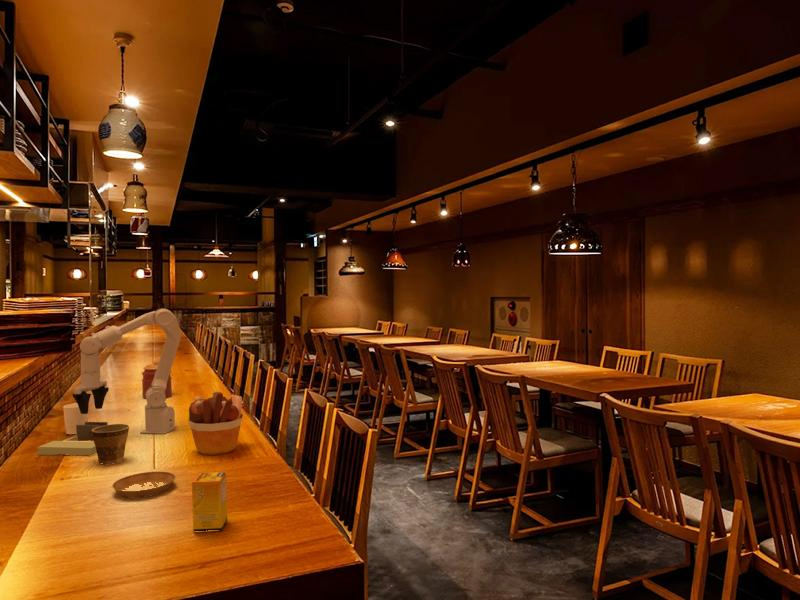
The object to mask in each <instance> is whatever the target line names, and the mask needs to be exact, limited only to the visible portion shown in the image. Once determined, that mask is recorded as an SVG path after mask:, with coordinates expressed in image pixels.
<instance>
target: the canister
mask: <svg viewBox="0 0 800 600" xmlns="http://www.w3.org/2000/svg"><path fill="white" fill-rule="evenodd" d="M159 360H160V359H154V360H153V363H152V364H151V363H150V364H147V365H146V366H144V367H143V368H142V369H144V370H143V372H141V375H142V379H141V384H142V386H141V387H142V393H141V394H142V399H144V400H146V396H145V394H146V391H147V390H148V389H149V388H150V386H151V384H152V381H153V379H154V376H155V373H156V370H157V367H158V364H159ZM171 373H172V370H171V371H170V374H169V377H168V381H167V386H166V390H165V396H166V399H167V398H171V397H172V395H173V389H172V377H171Z"/></svg>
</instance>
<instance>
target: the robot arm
mask: <svg viewBox="0 0 800 600" xmlns="http://www.w3.org/2000/svg"><path fill="white" fill-rule="evenodd" d="M155 324H157V325H158V326H159V328H161V329H162V331H163V332H164V334H165V336H166V339H165V341H164V344H163V348H162V351H161V354H160V358H159V359H158V360H159V364H158V367H157V370H156V373H155V376H154V379H153V381H152V384H151V386H150V388H149V389H148V390H147V391H146V394H145V396H146V399H145V400H146V404H145V405H144V420H145V421H144V423H145V427H144V430H141V431H140V434H163V435H164V434H167V433H169V432H171V431H174V430H175V429H177V426H176V420H175V413H176V412H175V409H174V407H172V406H168V405H167V402H166V399H167V398H166V396H165V390H166V386H167V381H168V377H169V374H170V375H171V373H170V371H172V368H173V365H174V361H175V357H176V354H177V351H178V348H179V344H180V341H181V338H182V330H181V328H180V324H179V322H178V319H177V317H176V316H175V315H174V313H173V312H172V311H171V310H169V309H167V308H158V309H157V310H153V311H150V312H147V313H144V314H142V315H140V316H138V317H137V318H134V319H132V320H130V321H128V322H126V323H123V324H122V325H120V326H116V325H111V326H110V325H107V326H105V327H104V329H102V330H100V331H97V332H96V333H95V332H92V333H91V334H90V335H91V336H86V337H85V338H83V339H82V340H81V341H80V343H79V349H80V351H81V352H80V357H81V358H80V379H81V380H80V383H81V384H78V386H76V387H74V388H73V393H72V398H73V399H74V400H75V402H76V403H77V404H78V406H79V409H80V412H81V414H87V413H88V414H89V408H90V407H89V405H90V404H89V403H90V399H91V397H92V396H93V402H94V407H95V408H94V409H95V410H101V409H103V407H104V401H105V400H106V399H105V398H106V396H107V394H108V392H109V387H108V381H107V380H101V367H100V366H101V365H100V363H101V360H100V357H99V354H100V353H99V350H100V349H105V348H107V347H109V346H111V345H113V344H115V343H118V342H119V341H122V338H123V336H124V335H126V334H128V333H130V332H133V331H135V330H137V329H140V328H141V327H144V326H155ZM90 391H91V393H87V392H90Z"/></svg>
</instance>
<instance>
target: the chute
mask: <svg viewBox="0 0 800 600" xmlns="http://www.w3.org/2000/svg"><path fill="white" fill-rule="evenodd" d="M104 425H109V424H108V421H88V422H85V425H76V428H77V435H76V436H78V440H93V439H92V438H91V436H90V430H91V429H94V428H96V427H100V426H104Z"/></svg>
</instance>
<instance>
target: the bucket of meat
mask: <svg viewBox="0 0 800 600" xmlns="http://www.w3.org/2000/svg"><path fill="white" fill-rule="evenodd" d="M242 407H243V397H242V396H241V395H237V394H231V395H230V398H227V397H226V396H224V394H223V392H220V391H217V390H216V391H213V392H212V396H211V397H208V398H207V399H206V398H205V399H204V398H202V397H201V396H198V395H197V396H196V397H194V401H193V402H192V403H190V405H189V407H188V424H189V427H190V429H191V434H192V438H193V441H194V445H195V449H196V451H198V452H199V453H200V454H202V455H204V456H218V455H219V456H220V455H224V454H229V453H231V452H233V451H234V450H235V449H236V448H237V444H238V440H239V435H240V429H241V425H242V420H243V413H242Z"/></svg>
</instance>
